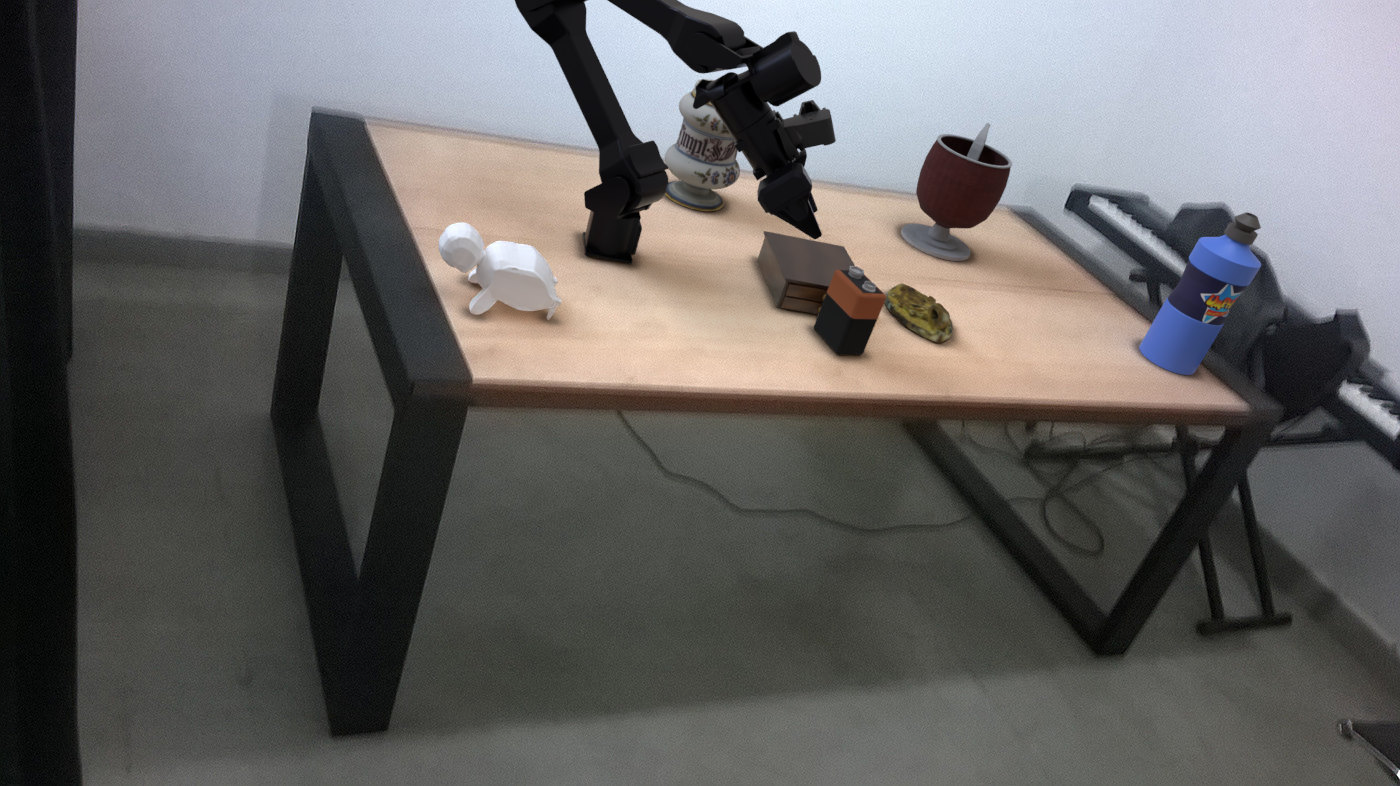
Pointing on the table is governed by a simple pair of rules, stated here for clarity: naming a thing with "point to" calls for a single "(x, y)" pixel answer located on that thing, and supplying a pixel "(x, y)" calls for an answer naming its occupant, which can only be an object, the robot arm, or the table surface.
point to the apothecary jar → (701, 157)
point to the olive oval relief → (919, 313)
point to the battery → (849, 311)
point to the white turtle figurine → (500, 271)
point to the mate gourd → (957, 192)
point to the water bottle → (1203, 297)
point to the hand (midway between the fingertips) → (816, 224)
